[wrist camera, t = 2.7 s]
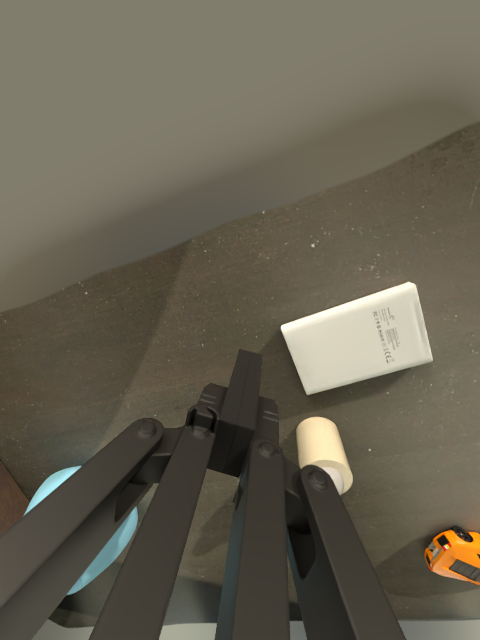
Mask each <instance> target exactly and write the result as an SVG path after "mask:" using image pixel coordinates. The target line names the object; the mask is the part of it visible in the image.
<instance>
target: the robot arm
mask: <svg viewBox="0 0 480 640" xmlns="http://www.w3.org/2000/svg"><path fill="white" fill-rule="evenodd" d="M261 365H262V355H260V354H256V353H253V352H249V351H246V350H242V349H239V353H238V356H237V360H236V363H235V367H234V370H233V373H232V377H231V380H230V384H229V387H228V388H226V387H223V386H219V385H216V384H212V383H210V384H209V385H207V386H206V387H204V390H203V392H202V395H201V397H200V399H199V401H198V403H197V405H194V406H192V407H191V408H190V409H189V410H188V414H187V419H186V424H185V425H184V426H182V427H179V428H164V427H163V425H162V423H160V422H159V421H158V420H156V419H153V418H143V419H139V420H137V421H135V422H134V423H132V424H131V425H130V426H129V427H127V428H126V429H125V430H124V431H123V432H122V433H120V434H119V435H118V436H117V437H116V438H115V439H113V440H112V441H111V442H110V443H109V444H107V445H106V446H105V447H104V448H103V449H102V450H100V451H99V452H98V453H97V454H96V455H95V456H93V457H92V458H91V459H90V460H89V461H87V462H86V463H85V464H84V465H83V466H82V467H80V468H79V469H78V470H77V471H76V472H75V473H73V474H72V475H71V476H70V477H69V478H67V479H66V480H65V481H64V482H63V483H62V484H60V485H59V486H58V487H57V488H56V489H54V490H53V491H52V492H51V493H50V494H49V495H47V496H46V497H45V498H44V499H43V500H42V501H40V502H39V503H38V504H37V505H36V506H34V507H33V508H32V509H31V510H30V511H29V512H27V513H26V514H25V515H24V516H23V517H22V518H20V519H19V520H18V521H17V522H16V523H14V524H13V525H12V526H11V527H10V528H9V529H7V530H6V531H5V532H4V533H3V534H2V535H0V640H31V639H32V638H33V637H34V635H35V634H36V633H37V631H38V630H39V629H40V628H41V627H42V625H43V624H44V623H45V621H46V620H47V619H48V618H49V616H50V615H51V614H52V613H53V611H54V610H55V609H56V607H57V606H58V605H59V604H60V602H61V601H62V600H63V599H64V597H65V596H66V595H67V593H68V592H69V591H70V590H71V588H72V587H73V586H74V585H75V583H76V582H77V581H78V579H79V578H80V577H81V576H82V574H83V573H84V572H85V571H86V569H87V568H88V567H89V565H90V564H91V563H92V562H93V560H94V559H95V558H96V557H97V555H98V554H99V553H100V551H101V550H102V549H103V548H104V546H105V545H106V544H107V543H108V541H109V540H110V539H111V537H112V536H113V535H114V534H115V532H116V531H117V530H118V529H119V527H120V526H121V525H122V523H123V522H124V521H125V520H126V518H127V517H128V516H129V515H130V513H131V512H132V511H133V509H134V508H135V507H136V506H137V504H138V503H139V502H140V501H141V499H142V498H143V497H144V495H145V494H146V493H147V492H148V490H149V489H150V488H151V487H152V485H153V483H159V485H158V487H157V489H156V491H155V494H154V496H153V498H152V500H151V503H150V505H149V507H148V509H147V511H146V514H145V516H144V518H143V520H142V522H141V525H140V527H139V529H138V531H137V534H136V536H135V538H134V540H133V542H132V545H131V547H130V549H129V551H128V553H127V556H126V558H125V560H124V562H123V565H122V567H121V569H120V571H119V573H118V576H117V578H116V580H115V582H114V585H113V587H112V589H111V591H110V593H109V596H108V598H107V600H106V602H105V604H104V607H103V609H102V611H101V613H100V616H99V618H98V620H97V622H96V624H95V627H94V629H93V631H92V633H91V635H90V638H89V640H159V637H160V634H161V630H162V626H163V623H164V619H165V616H166V612H167V609H168V605H169V601H170V598H171V594H172V591H173V587H174V584H175V580H176V576H177V573H178V569H179V566H180V562H181V559H182V555H183V551H184V548H185V544H186V541H187V537H188V534H189V530H190V526H191V523H192V519H193V516H194V512H195V509H196V505H197V501H198V498H199V494H200V491H201V487H202V484H203V480H204V476H205V473H206V469H207V468H208V469H211V470H214V471H218V472H221V473H224V474H228V475H231V476H234V477H238V478H239V477H240V482H239V485H238V488H237V491H236V494H235V497H234V499H233V503H235V505H234V512H233V519H232V526H231V533H230V539H229V546H228V553H227V560H226V566H225V573H224V580H223V587H222V594H221V600H220V607H219V614H218V621H217V628H216V635H215V640H290V625H289V624H290V622H289V595H288V568H287V553H288V557H289V562H290V566H291V570H292V575H293V579H294V584H295V588H296V592H297V597H298V601H299V606H300V610H301V614H302V619H303V623H304V628H305V631H306V636H307V640H406V638H405V636H404V634H403V631H402V629H401V627H400V625H399V623H398V621H397V618H396V616H395V614H394V612H393V610H392V608H391V605H390V603H389V601H388V599H387V597H386V594H385V592H384V590H383V588H382V586H381V584H380V581H379V579H378V577H377V575H376V573H375V571H374V568H373V566H372V564H371V562H370V560H369V558H368V555H367V553H366V551H365V549H364V547H363V544H362V542H361V540H360V538H359V536H358V534H357V531H356V529H355V527H354V525H353V523H352V521H351V518H350V516H349V514H348V512H347V510H346V508H345V505H344V503H343V501H342V499H341V497H340V494H339V492H338V490H337V488H336V486H335V484H334V481H333V480H332V478H331V477H330V475H329V474H328V473H327V472H326V471H325V470H324V469H322V468H320V467H318V466H316V465H312V464H311V465H305V466H304V467H303V468H302V469H301V468H300V467H298V466H296V465H295V464H293V463H292V462H290V461H289V460H288V459H287V458H286V457H285V456H284V455H283V452H282V449H281V448H280V446H279V422H278V421H279V419H278V406H277V405H276V403H275V401H274V400H271V399H267V398H264V397H260V396H259V386H260V375H261ZM240 474H241V476H240Z"/></svg>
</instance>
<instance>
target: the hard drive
mask: <svg viewBox="0 0 480 640" xmlns="http://www.w3.org/2000/svg"><path fill="white" fill-rule="evenodd" d="M281 330H282V333H283V336H284V338H285V341H286V343H287V346H288V348H289V351H290V353H291V356H292V359H293V361H294V364H295V366H296V369H297V371H298V374H299V376H300V379H301V382H302V384H303V387H304V389H305V392H306V394H307V395H310V394H313V393H317V392H321V391H324V390H328V389H332V388H336V387H339V386H343V385H347V384H350V383H354V382H358V381H361V380H365V379H369V378H373V377H376V376H380V375H384V374H388V373H391V372H395V371H399V370H402V369H406V368H410V367H413V366H417V365H421V364H425V363H428V362H432V361H433V358H432V354H431V349H430V345H429V341H428V337H427V332H426V328H425V323H424V319H423V314H422V309H421V305H420V301H419V296H418V291H417V288H416V286H415V284H413V283H410V282H407V283H404V284H401V285H398V286H395V287H392V288H389V289H386V290H383V291H380V292H377V293H374V294H372V295H369V296H366V297H363V298H360V299H357V300H354V301H351V302H348V303H345V304H342V305H339V306H336V307H333V308H331V309H328V310H325V311H322V312H319V313H316V314H313V315H310V316H307V317H304V318H301V319H298V320H295V321H292V322H289V323H286V324H284V325H281Z"/></svg>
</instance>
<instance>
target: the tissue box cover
mask: <svg viewBox="0 0 480 640" xmlns="http://www.w3.org/2000/svg"><path fill="white" fill-rule="evenodd" d="M29 503H30V502H29V500H28V499H27V498H26V496H25V495H24V493H23V492H22V490H21V489H20V488H19V486H18V485H17V483H16V482H15V480H14V479H13V478H12V476H11V475H10V473H9V472H8V470H7V469H6V468H5V466H4V465H3V463H2V462H1V460H0V535H2V534H3V533H4V532H5V531H6V530H7V529H9V528H10V527H11V526H12V525H13V524H14V523H16V522H17V521H18V520H19V519H20V518H22V517H23V516H24V514H25V512H26V510H27V508H28V506H29Z"/></svg>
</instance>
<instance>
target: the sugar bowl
mask: <svg viewBox="0 0 480 640" xmlns="http://www.w3.org/2000/svg"><path fill="white" fill-rule="evenodd" d="M80 467H82V466H76V467H71V468H67V469H63V470H60V471H58V472H56V473H54V474H52V475H51V476H49V477H48V478H47V479H46V480H45V481H44V483H43V484H42V485H41V486H40V488H39V489H38V490H37V492H36V493H35V495H34V497H33V498H32V500H31V502H30V503H29V506H28V508H27V510H26V512H25V514H26V513H27V512H29V511H30V510H31V509H32V508H33V507H34V506H36V505H37V504H38V503H39V502H40V501H42V500H43V499H44V498H45V497H46V496H47V495H49V494H50V493H51V492H52V491H53V490H54V489H56V488H57V487H58V486H59V485H60V484H62V483H63V482H64V481H65V480H66V479H67V478H69V477H70V476H71V475H72V474H73V473H75V472H76V471H77V470H78V469H79V468H80ZM25 514H24V515H25ZM137 521H138V512H137V506H136V507H135V508H134V509H133V511H132V512H131V513H130V515H129V516H128V517H127V518H126V520H125V521H124V522H123V523H122V525H121V526H120V527H119V529H118V530H117V531H116V532H115V534H114V535H113V536H112V537H111V539H110V540H109V541H108V543H107V544H106V545H105V546H104V548H103V549H102V550H101V551H100V553H99V554H98V555H97V557H96V558H95V559H94V560H93V562H92V563H91V564H90V565H89V567H88V568H87V569H86V571H85V572H84V573H83V574H82V576H81V577H80V578H79V579H78V581H77V582H76V583H75V585H74V586H73V587H72V588H71V590H70V591H69V592H68V593H67V595H70V594H73V593H75V592H77V591H79V590H80V589H81V588H83V587H84V586H86V585H87V584H88V583H89V582H91V581H92V580H93V579H94V578H95V577H97V576H98V575H99V574H100V573H101V572H103V571H104V570H105V569H106V568H107V567H108V566H109V565H110V564H111V563H112V562H113V561H114V560H115V559H116V558H117V557H118V556H119V554H120V553H121V552H122V550H123V549H124V548H125V546H126V545H127V544H128V542H129V540H130V539H131V537H132V535H133V533H134V531H135V529H136V526H137Z"/></svg>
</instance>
